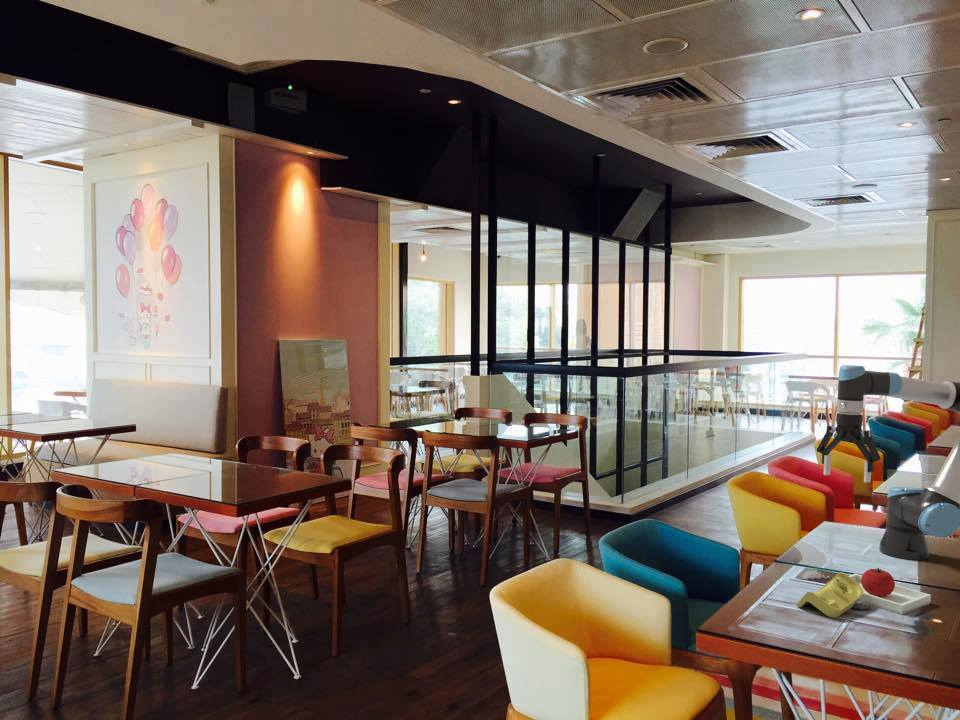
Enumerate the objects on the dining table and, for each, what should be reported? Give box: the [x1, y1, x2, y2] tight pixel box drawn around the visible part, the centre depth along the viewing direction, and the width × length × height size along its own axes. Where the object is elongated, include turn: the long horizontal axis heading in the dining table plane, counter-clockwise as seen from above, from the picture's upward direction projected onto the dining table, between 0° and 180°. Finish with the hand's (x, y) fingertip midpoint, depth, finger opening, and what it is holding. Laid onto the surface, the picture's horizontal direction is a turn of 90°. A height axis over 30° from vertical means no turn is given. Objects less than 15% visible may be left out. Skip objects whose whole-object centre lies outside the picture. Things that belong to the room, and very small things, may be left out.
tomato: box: [861, 567, 896, 597], centre depth 228 cm, size 9×9×8 cm
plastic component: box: [796, 572, 863, 619], centre depth 220 cm, size 20×7×10 cm
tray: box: [826, 573, 932, 615], centre depth 228 cm, size 16×22×2 cm
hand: (846, 478), depth 256 cm, fingers open, 13 cm apart
